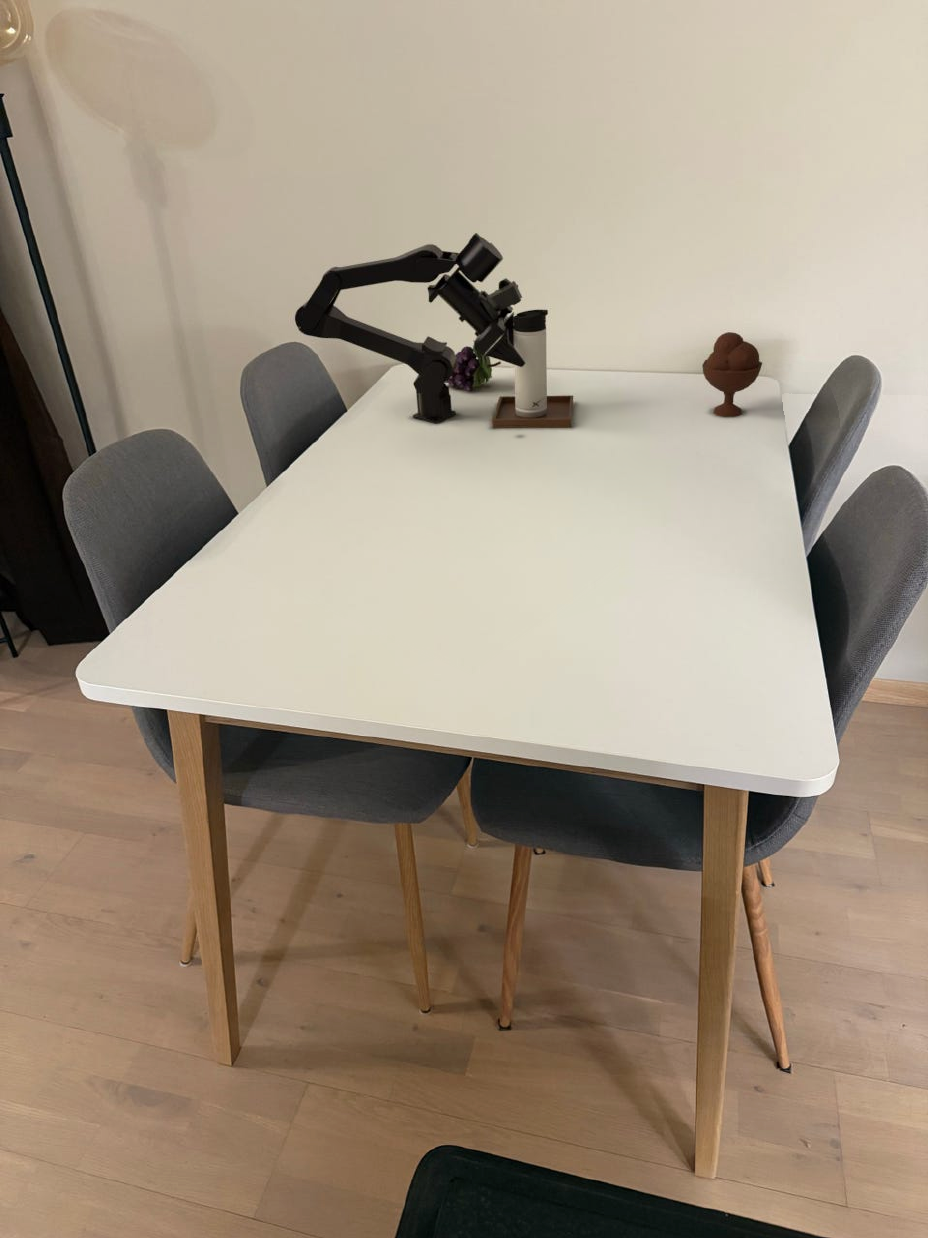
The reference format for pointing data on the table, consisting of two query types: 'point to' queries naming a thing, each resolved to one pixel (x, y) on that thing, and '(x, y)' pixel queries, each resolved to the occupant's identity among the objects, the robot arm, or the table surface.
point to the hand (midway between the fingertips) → (525, 358)
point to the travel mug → (531, 363)
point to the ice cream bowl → (731, 370)
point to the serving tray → (554, 418)
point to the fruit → (471, 369)
